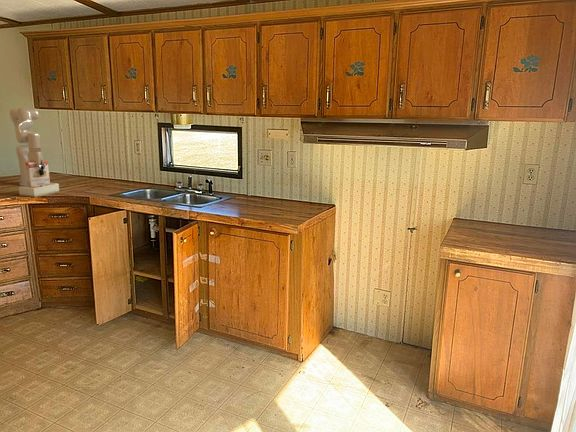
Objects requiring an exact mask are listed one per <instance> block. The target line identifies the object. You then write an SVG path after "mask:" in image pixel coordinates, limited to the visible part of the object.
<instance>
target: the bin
mask: <svg viewBox="0 0 576 432" xmlns="http://www.w3.org/2000/svg"><path fill="white" fill-rule="evenodd" d="M59 192H60V184H59V183H56V182H55V183H54V182H50V185H48V186H43V187H37V188H28V187H27V185H26V186H22V185H20V186H18V194H19V196H22V197H23V196H24V197H32V198H36V197H40V196H45V195H50V194H54V193H59Z"/></svg>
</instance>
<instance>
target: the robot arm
mask: <svg viewBox="0 0 576 432" xmlns="http://www.w3.org/2000/svg"><path fill="white" fill-rule="evenodd" d="M9 117H10V119H11V122H12V123H13V126H14V131H15V138H16V142H17V143H18V144H21V145H17V146H16V148H15V152H16V155H17V156H16V157H17V159H18V167H19V168H18V169H19V173H20V174H19V175H20V179H18V182H19V184H18V185H19V186H26V185H27V178H26V169H25V162H35V164H36V166H38V167H39V169H40V170H39V173H40V175H44V170H43V169H44V168H45V166H46V164H45V163H44V161H45V160H44V156H43V153H42V146H41V135H40V133H39V132H38V131H35V130H28V129H31V128H32V127H33V126H34V121H35V120H38V119H39V118H40V113H39V111H38V109H37V108H35V107H20V108H12V109H10V110H9ZM40 164H41V165H40Z"/></svg>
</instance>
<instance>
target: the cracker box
mask: <svg viewBox="0 0 576 432" xmlns="http://www.w3.org/2000/svg"><path fill="white" fill-rule="evenodd" d="M43 161H44V163H45V164H46V166H45V168H44V169H43V170H44V175H40V173H39V170H40V169H39V167H38V166H36V164H35V162H25V169H26V178H27V187H28V188H37V187H43V186H48V185H50V183H51V182H50V181H51V180H50V170H49V161H48V160H43ZM40 165H41V164H40Z"/></svg>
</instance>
